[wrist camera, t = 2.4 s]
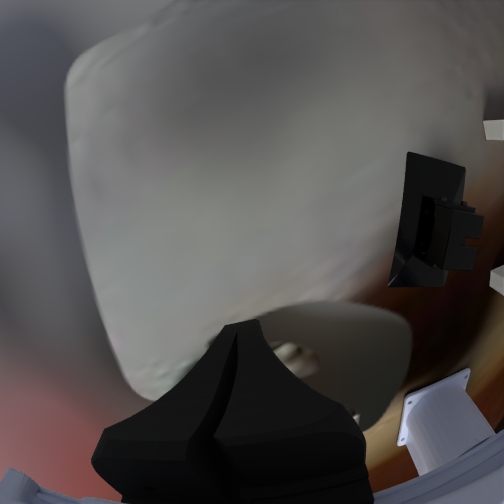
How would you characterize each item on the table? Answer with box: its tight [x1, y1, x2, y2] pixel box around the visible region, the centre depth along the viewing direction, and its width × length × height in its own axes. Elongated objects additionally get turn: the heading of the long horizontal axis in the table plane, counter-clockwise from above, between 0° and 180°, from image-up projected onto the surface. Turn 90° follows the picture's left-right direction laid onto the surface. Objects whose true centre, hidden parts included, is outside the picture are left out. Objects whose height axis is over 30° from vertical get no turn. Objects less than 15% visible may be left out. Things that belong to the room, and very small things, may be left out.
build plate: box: [388, 152, 484, 287], centre depth 16 cm, size 12×7×5 cm, turn 177°
